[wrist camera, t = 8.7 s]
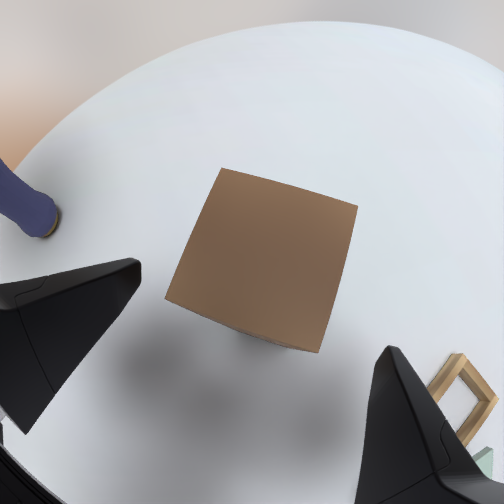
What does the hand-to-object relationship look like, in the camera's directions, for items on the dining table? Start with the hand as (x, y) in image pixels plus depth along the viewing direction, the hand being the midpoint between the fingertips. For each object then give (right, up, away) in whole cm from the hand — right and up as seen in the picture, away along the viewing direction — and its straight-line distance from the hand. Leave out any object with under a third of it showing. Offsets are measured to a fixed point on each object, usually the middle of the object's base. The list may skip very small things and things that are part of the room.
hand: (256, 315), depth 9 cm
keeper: (+14, -10, +6) cm, 18 cm away
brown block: (+1, -2, +9) cm, 10 cm away
